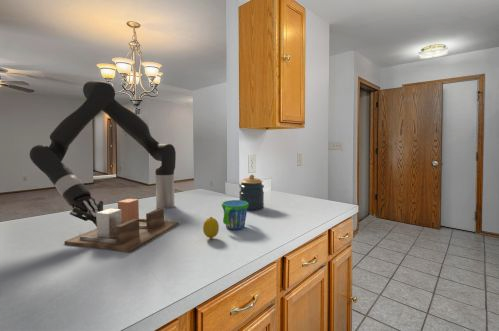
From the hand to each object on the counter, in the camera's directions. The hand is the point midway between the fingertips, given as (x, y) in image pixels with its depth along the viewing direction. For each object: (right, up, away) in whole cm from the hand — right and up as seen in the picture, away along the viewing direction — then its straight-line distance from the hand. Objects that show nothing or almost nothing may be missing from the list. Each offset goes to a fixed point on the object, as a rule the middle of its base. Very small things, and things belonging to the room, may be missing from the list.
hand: (102, 226), depth 95 cm
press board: (+6, -4, +7) cm, 10 cm away
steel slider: (+3, -3, -1) cm, 5 cm away
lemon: (+38, -5, +2) cm, 38 cm away
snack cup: (+46, -4, +15) cm, 48 cm away
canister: (+53, -1, +46) cm, 70 cm away
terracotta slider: (+2, -2, +16) cm, 16 cm away
